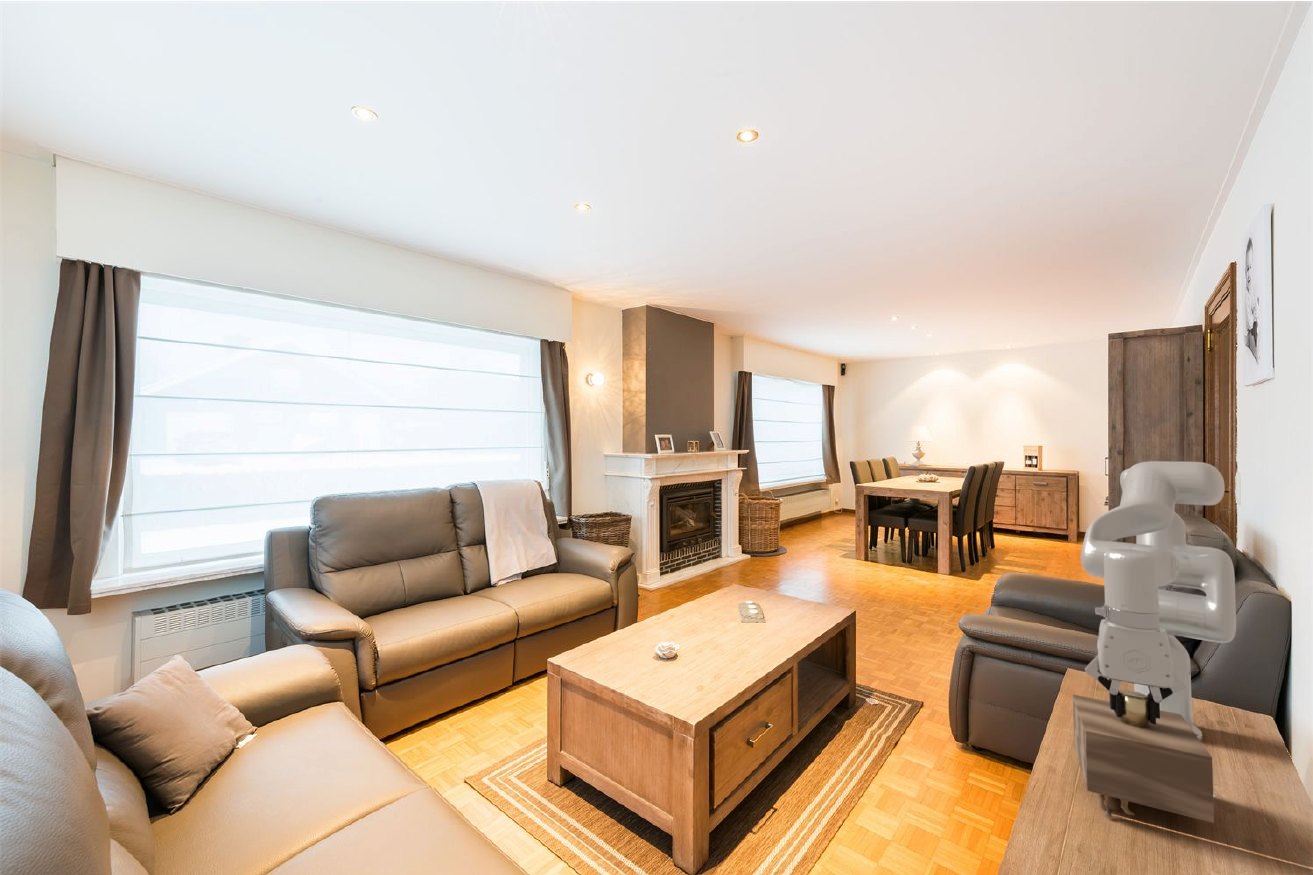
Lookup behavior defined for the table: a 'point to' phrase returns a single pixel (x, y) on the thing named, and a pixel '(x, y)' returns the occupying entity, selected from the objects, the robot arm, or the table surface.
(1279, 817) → the table surface
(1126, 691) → the walnut cover
